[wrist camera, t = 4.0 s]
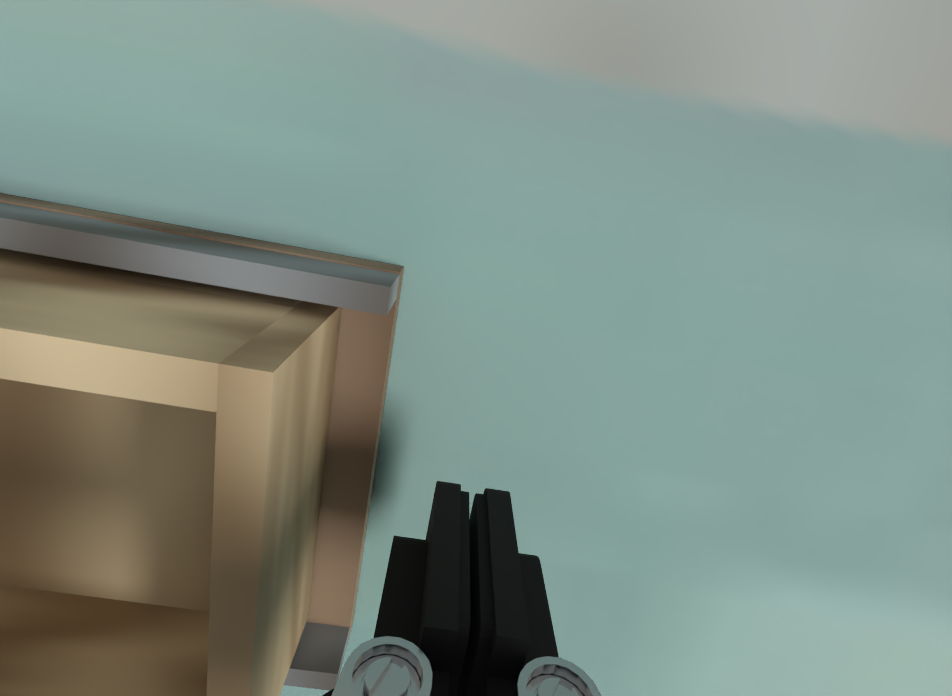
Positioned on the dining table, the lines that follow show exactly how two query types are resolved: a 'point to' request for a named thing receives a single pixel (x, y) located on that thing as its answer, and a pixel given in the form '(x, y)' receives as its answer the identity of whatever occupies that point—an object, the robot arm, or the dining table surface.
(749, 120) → the dining table surface
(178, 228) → the wooden tray
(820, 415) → the dining table surface
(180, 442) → the box
